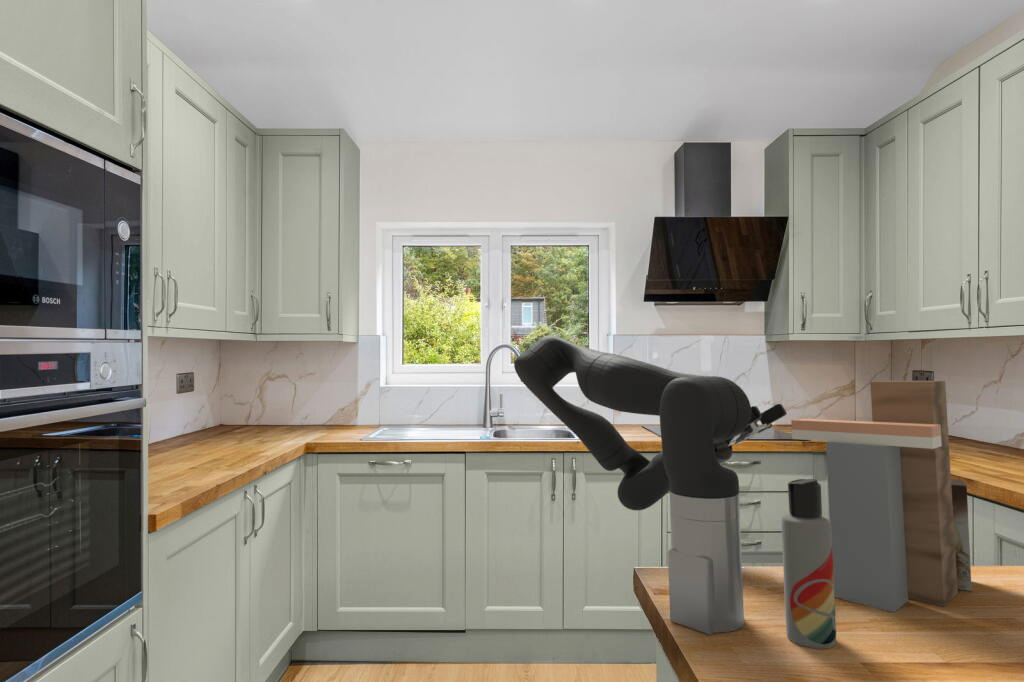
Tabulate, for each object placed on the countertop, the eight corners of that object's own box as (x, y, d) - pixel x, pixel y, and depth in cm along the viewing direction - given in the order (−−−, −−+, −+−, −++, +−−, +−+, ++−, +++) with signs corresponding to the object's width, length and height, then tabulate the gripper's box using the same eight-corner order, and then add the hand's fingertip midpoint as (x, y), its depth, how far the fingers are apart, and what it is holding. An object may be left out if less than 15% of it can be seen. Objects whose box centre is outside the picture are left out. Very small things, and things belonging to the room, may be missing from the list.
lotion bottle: (835, 654, 70) (827, 484, 71) (783, 643, 73) (776, 480, 74) (838, 635, 75) (830, 477, 76) (789, 626, 78) (782, 474, 79)
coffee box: (901, 581, 94) (895, 480, 95) (900, 570, 99) (895, 474, 100) (973, 592, 89) (967, 484, 90) (968, 579, 94) (962, 478, 95)
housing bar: (933, 448, 80) (931, 426, 80) (792, 438, 94) (791, 420, 95) (941, 446, 82) (940, 424, 83) (803, 436, 97) (802, 418, 97)
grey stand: (893, 612, 82) (885, 446, 83) (833, 596, 88) (825, 441, 90) (908, 601, 86) (899, 442, 87) (849, 586, 92) (841, 438, 93)
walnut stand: (944, 606, 84) (931, 381, 86) (881, 591, 90) (870, 381, 92) (957, 594, 88) (945, 380, 90) (896, 580, 94) (886, 381, 96)
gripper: (667, 435, 107) (738, 391, 96) (710, 430, 116) (779, 389, 105) (686, 474, 103) (762, 432, 93) (729, 465, 112) (802, 426, 102)
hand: (771, 409), depth 99 cm, fingers open, 8 cm apart
